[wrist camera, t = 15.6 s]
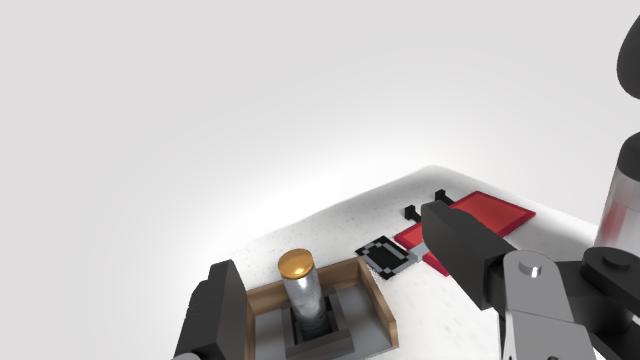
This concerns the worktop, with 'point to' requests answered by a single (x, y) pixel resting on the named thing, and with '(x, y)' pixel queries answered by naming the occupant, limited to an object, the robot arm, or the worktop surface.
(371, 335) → the socket box
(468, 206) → the red board with handle
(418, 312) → the worktop surface
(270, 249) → the worktop surface
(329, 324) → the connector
